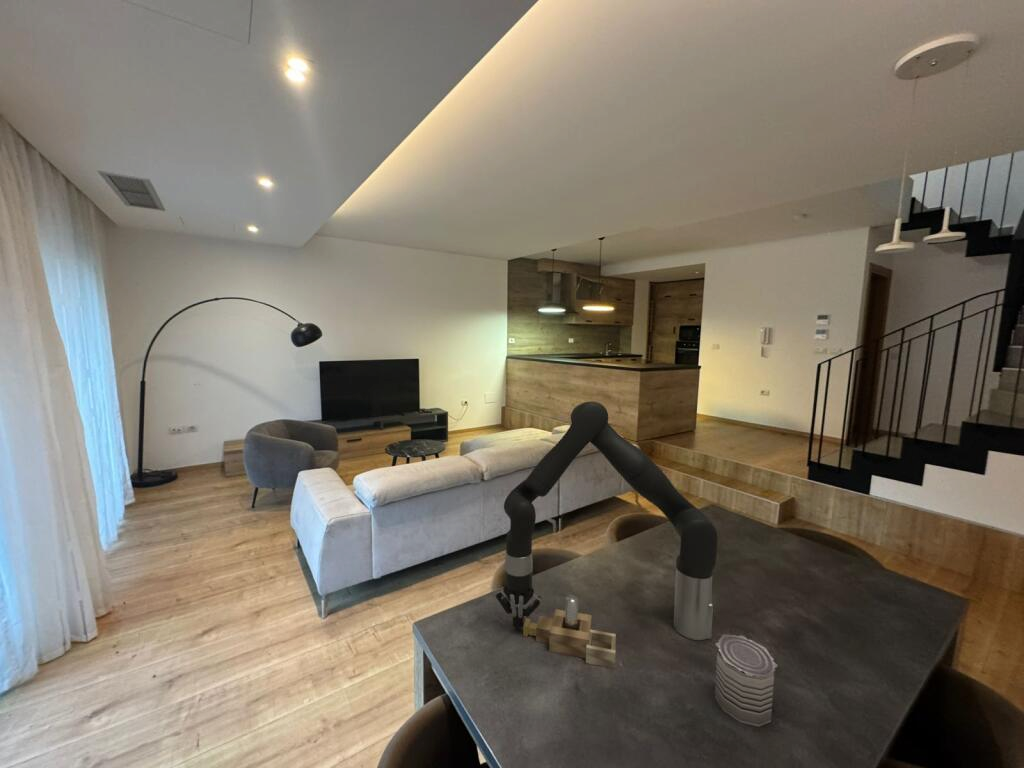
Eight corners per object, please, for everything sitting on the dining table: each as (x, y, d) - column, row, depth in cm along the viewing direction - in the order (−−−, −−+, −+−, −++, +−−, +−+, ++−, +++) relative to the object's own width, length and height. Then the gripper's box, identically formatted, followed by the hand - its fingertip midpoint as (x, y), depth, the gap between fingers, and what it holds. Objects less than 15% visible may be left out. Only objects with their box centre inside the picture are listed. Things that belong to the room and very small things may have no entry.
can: (752, 682, 96) (754, 633, 95) (786, 726, 84) (789, 672, 83) (704, 682, 95) (706, 634, 94) (732, 727, 84) (735, 673, 83)
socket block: (591, 632, 112) (591, 615, 112) (588, 658, 102) (588, 640, 102) (541, 623, 116) (541, 606, 115) (533, 647, 106) (534, 629, 106)
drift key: (555, 633, 111) (555, 623, 111) (553, 642, 108) (553, 632, 108) (526, 627, 113) (526, 618, 113) (523, 636, 110) (523, 626, 110)
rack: (615, 648, 106) (615, 634, 106) (614, 668, 99) (615, 653, 99) (588, 643, 108) (588, 629, 108) (585, 662, 101) (586, 647, 101)
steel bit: (577, 638, 110) (578, 596, 109) (576, 646, 107) (577, 603, 106) (565, 636, 110) (566, 594, 110) (564, 644, 107) (565, 601, 106)
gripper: (545, 564, 113) (544, 623, 114) (499, 557, 116) (499, 615, 118) (539, 578, 106) (539, 641, 107) (491, 571, 109) (491, 632, 110)
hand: (518, 627), depth 112 cm, fingers closed
